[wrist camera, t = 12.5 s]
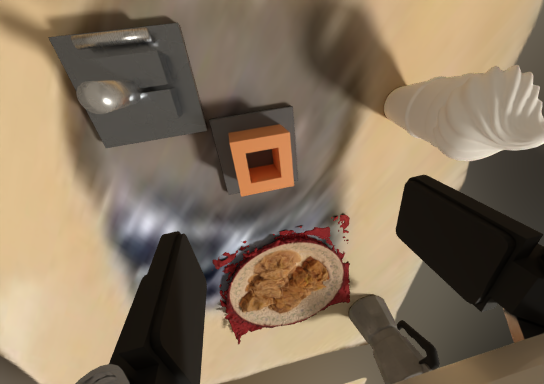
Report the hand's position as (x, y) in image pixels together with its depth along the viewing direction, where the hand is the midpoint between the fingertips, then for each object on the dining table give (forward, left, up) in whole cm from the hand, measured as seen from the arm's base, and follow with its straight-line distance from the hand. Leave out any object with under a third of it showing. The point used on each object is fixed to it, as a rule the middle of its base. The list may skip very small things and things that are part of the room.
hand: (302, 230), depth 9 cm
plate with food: (-2, +29, -22) cm, 36 cm away
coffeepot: (-21, +45, -21) cm, 54 cm away
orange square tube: (-1, +3, -20) cm, 20 cm away
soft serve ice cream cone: (-21, 0, -21) cm, 29 cm away
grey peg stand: (+10, -6, -21) cm, 24 cm away
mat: (-1, +3, -21) cm, 21 cm away
